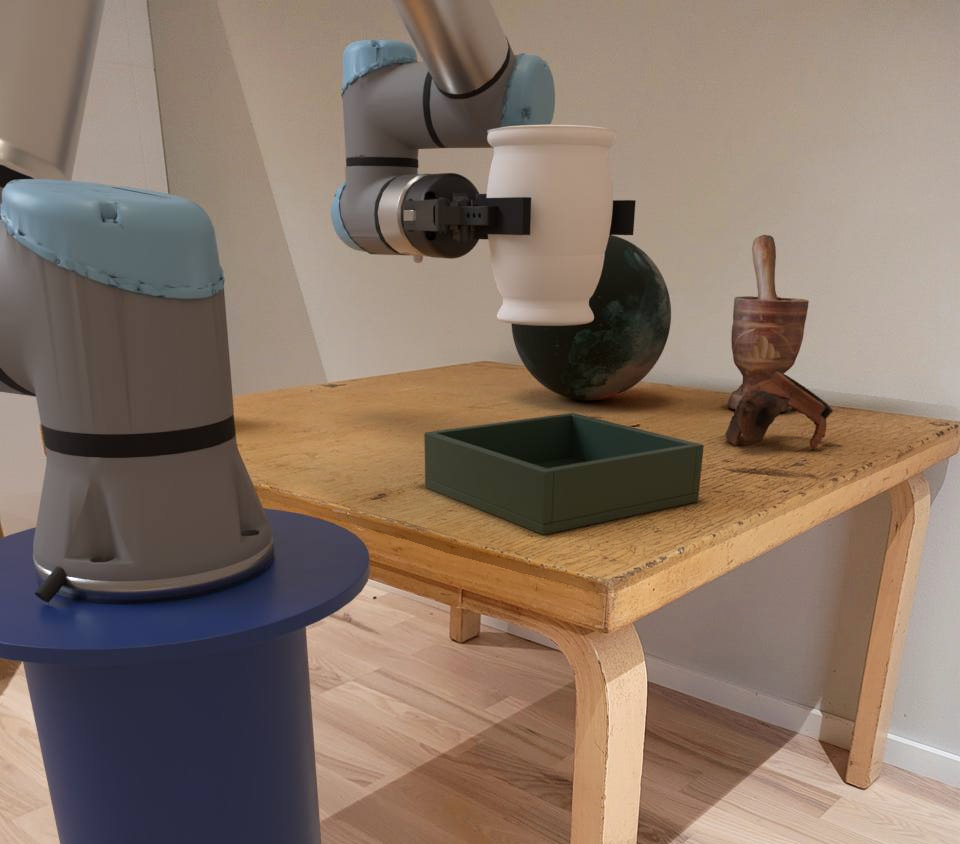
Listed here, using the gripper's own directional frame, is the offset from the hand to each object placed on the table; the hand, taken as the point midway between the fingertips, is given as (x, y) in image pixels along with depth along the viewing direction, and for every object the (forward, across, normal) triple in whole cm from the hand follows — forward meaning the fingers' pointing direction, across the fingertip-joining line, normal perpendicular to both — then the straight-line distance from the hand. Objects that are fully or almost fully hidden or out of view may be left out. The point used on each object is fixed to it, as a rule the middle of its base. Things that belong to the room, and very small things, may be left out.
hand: (581, 217), depth 78 cm
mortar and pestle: (-16, -43, -22) cm, 51 cm away
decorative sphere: (-31, -29, -22) cm, 48 cm away
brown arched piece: (0, -27, -22) cm, 35 cm away
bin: (+3, +4, -22) cm, 22 cm away
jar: (-4, 0, -9) cm, 10 cm away
